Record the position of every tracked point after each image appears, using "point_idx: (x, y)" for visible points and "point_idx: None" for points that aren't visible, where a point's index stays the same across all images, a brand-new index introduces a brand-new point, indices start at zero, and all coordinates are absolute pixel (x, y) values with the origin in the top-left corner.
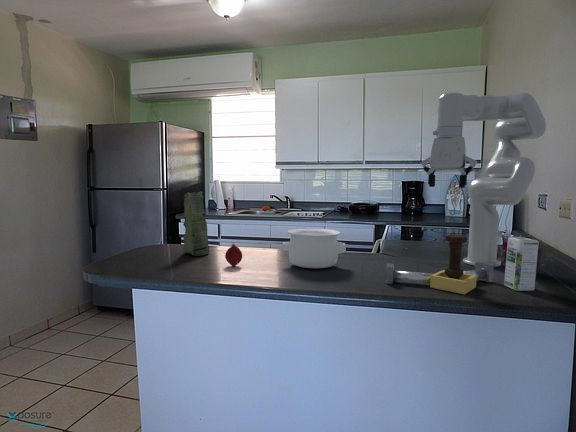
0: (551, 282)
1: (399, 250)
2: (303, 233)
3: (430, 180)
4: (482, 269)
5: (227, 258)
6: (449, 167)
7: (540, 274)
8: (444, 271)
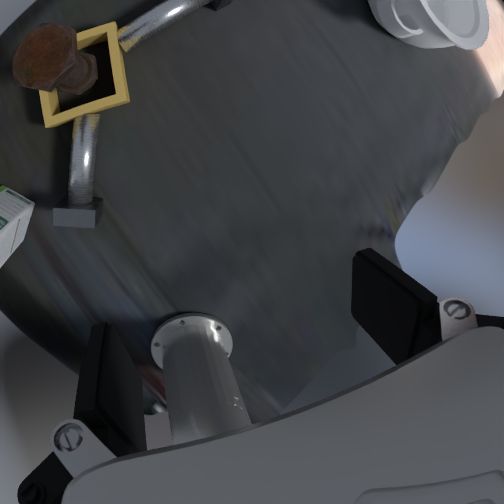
0: (24, 314)
1: None
2: (473, 15)
3: (392, 273)
4: (75, 204)
5: None
6: (221, 441)
7: (73, 356)
8: (115, 86)
